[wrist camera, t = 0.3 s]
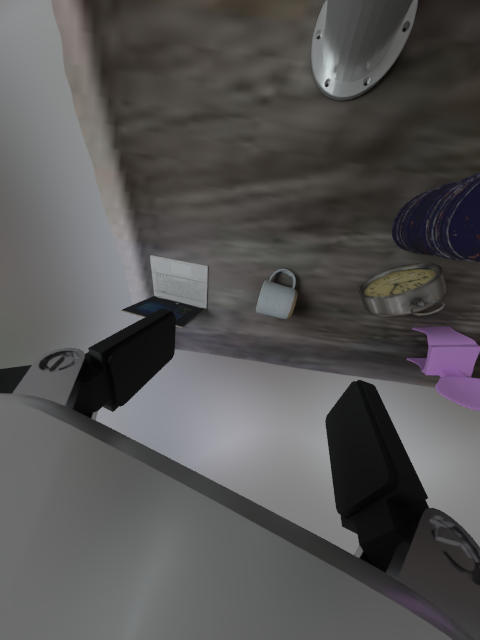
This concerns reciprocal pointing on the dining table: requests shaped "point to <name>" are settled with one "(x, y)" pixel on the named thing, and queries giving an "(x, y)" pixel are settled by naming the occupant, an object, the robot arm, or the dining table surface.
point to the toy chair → (452, 365)
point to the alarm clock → (404, 290)
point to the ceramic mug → (277, 298)
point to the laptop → (175, 290)
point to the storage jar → (442, 221)
